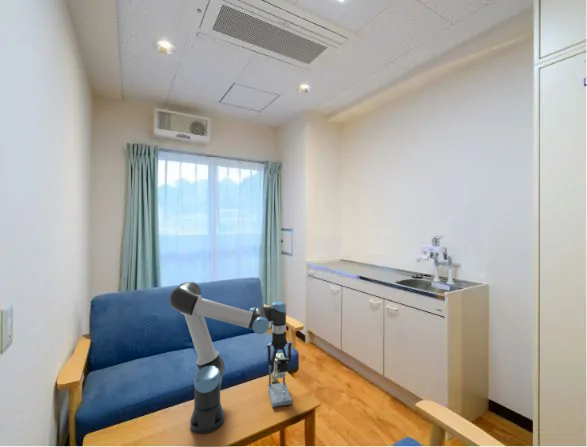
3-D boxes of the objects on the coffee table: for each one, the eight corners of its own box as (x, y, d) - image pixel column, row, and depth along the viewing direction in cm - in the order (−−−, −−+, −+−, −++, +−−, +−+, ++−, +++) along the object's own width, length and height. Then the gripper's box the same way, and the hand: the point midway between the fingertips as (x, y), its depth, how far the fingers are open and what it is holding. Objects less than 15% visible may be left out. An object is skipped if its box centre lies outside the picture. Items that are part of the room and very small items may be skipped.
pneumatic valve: (280, 370, 153) (282, 349, 153) (286, 382, 142) (288, 358, 142) (270, 371, 151) (272, 349, 151) (276, 383, 140) (278, 359, 140)
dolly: (272, 408, 138) (272, 382, 138) (267, 390, 153) (267, 366, 153) (291, 405, 140) (291, 379, 140) (285, 387, 155) (285, 363, 156)
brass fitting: (271, 384, 159) (271, 375, 159) (270, 380, 163) (270, 372, 163) (278, 383, 160) (278, 374, 160) (277, 379, 164) (277, 371, 164)
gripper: (263, 336, 141) (263, 381, 141) (297, 332, 145) (297, 376, 145) (261, 330, 148) (261, 373, 148) (293, 327, 152) (294, 369, 152)
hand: (279, 375), depth 147 cm, fingers closed on pneumatic valve, 5 cm apart
